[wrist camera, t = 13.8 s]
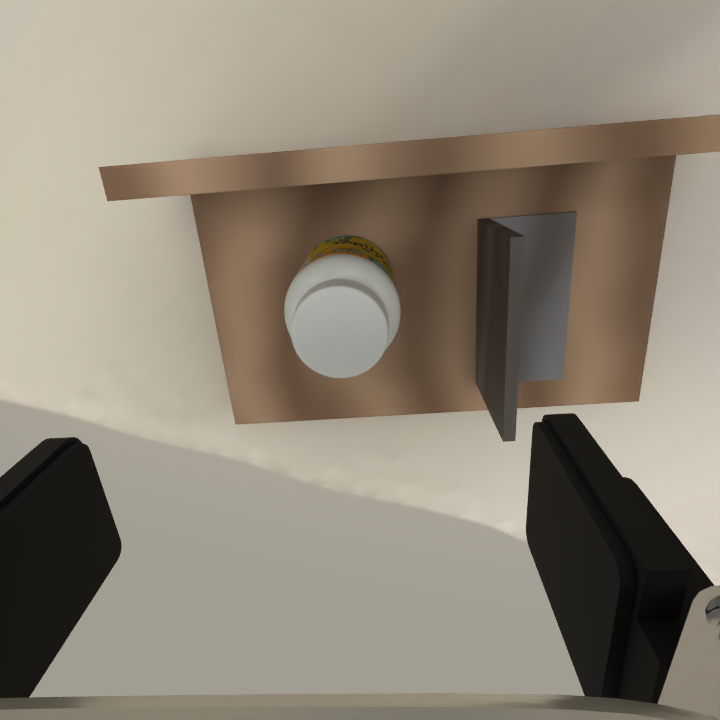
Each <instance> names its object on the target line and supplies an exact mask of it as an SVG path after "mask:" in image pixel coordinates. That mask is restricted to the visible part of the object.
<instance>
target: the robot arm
mask: <svg viewBox="0 0 720 720" xmlns="http://www.w3.org/2000/svg"><path fill="white" fill-rule="evenodd" d="M526 535H527V541H528V545H529V548H530V551H531V554H532V556H533V559H534V561H535V564H536V567H537V570H538V572H539V575H540V577H541V580H542V583H543V586H544V588H545V591H546V593H547V596H548V599H549V601H550V604H551V607H552V610H553V612H554V615H555V617H556V620H557V623H558V626H559V628H560V631H561V634H562V636H563V639H564V641H565V644H566V647H567V650H568V652H569V655H570V658H571V660H572V663H573V666H574V668H575V671H576V674H577V676H578V679H579V682H580V684H581V687H582V689H583V692H584V695H585V696H570V695H535V694H457V693H455V694H454V693H453V694H452V693H445V694H444V693H437V694H435V693H431V694H430V693H428V694H426V693H425V694H272V695H271V694H270V695H269V694H265V695H264V694H263V695H173V696H172V695H171V696H93V697H35V698H29V696H30V695H31V694H32V692H33V691H34V689H35V687H36V686H37V684H38V683H39V681H40V680H41V678H42V676H43V675H44V674H45V672H46V670H47V669H48V667H49V666H50V664H51V663H52V661H53V659H54V658H55V656H56V655H57V653H58V652H59V650H60V649H61V647H62V645H63V644H64V642H65V641H66V639H67V638H68V636H69V634H70V633H71V631H72V630H73V628H74V627H75V625H76V624H77V622H78V621H79V619H80V618H81V616H82V614H83V613H84V611H85V610H86V608H87V607H88V605H89V604H90V602H91V601H92V599H93V597H94V596H95V594H96V593H97V591H98V590H99V588H100V587H101V585H102V583H103V582H104V580H105V579H106V577H107V576H108V574H109V573H110V571H111V569H112V568H113V566H114V564H115V563H116V562H117V560H118V558H119V556H120V553H121V540H120V537H119V534H118V531H117V528H116V525H115V522H114V519H113V516H112V513H111V510H110V507H109V505H108V502H107V499H106V496H105V493H104V490H103V487H102V484H101V481H100V478H99V475H98V472H97V469H96V467H95V464H94V461H93V458H92V455H91V452H90V450H89V447H88V446H87V445H85V444H82V442H81V441H80V440H79V439H78V438H75V437H70V438H50V439H46V440H44V441H42V442H41V443H40V444H39V445H38V446H36V447H35V448H34V449H33V450H32V451H30V452H29V453H28V454H27V455H26V456H25V457H24V458H22V459H21V460H20V461H19V462H18V463H16V464H15V465H14V466H13V467H12V468H11V469H9V470H8V471H7V472H6V473H5V474H4V475H2V476H1V477H0V720H720V586H714V585H713V583H712V582H711V581H710V579H709V578H708V577H707V575H706V574H705V573H704V571H703V570H702V569H701V568H700V566H699V565H698V564H697V562H696V561H695V560H694V558H693V557H692V556H691V555H690V553H689V552H688V551H687V549H686V548H685V547H684V545H683V544H682V543H681V542H680V540H679V539H678V538H677V536H676V535H675V534H674V532H673V531H672V530H671V529H670V527H669V526H668V525H667V523H666V522H665V521H664V519H663V518H662V517H661V516H660V514H659V513H658V512H657V510H656V509H655V508H654V506H653V505H652V504H651V503H650V501H649V500H648V499H647V497H646V496H645V495H644V493H643V492H642V491H641V490H640V488H639V487H638V486H637V484H636V483H635V482H634V481H633V480H632V479H630V478H627V477H622V476H621V475H620V473H619V472H618V471H617V469H616V468H615V466H614V465H613V464H612V462H611V461H610V460H609V458H608V457H607V456H606V454H605V453H604V452H603V450H602V449H601V448H600V446H599V445H598V444H597V442H596V441H595V440H594V438H593V437H592V435H591V434H590V433H589V431H588V430H587V429H586V427H585V426H584V425H583V423H582V422H581V421H580V419H579V418H578V417H577V416H576V415H575V414H573V413H571V414H550V415H544V416H543V419H542V422H535V423H534V425H533V431H532V446H531V461H530V476H529V491H528V505H527V520H526Z"/></svg>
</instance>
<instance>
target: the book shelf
mask: <svg viewBox="0 0 720 720" xmlns="http://www.w3.org/2000/svg"><path fill="white" fill-rule="evenodd" d="M718 151H720V114H719V115H707V116H696V117H684V118H672V119H660V120H649V121H637V122H625V123H613V124H601V125H590V126H578V127H566V128H554V129H543V130H531V131H519V132H507V133H496V134H484V135H472V136H460V137H449V138H437V139H425V140H413V141H401V142H390V143H378V144H366V145H354V146H343V147H331V148H319V149H307V150H296V151H284V152H272V153H260V154H249V155H237V156H225V157H213V158H202V159H190V160H178V161H166V162H154V163H143V164H131V165H119V166H107V167H99V170H100V174H101V178H102V182H103V186H104V189H105V193H106V197H107V201H116V200H128V199H141V198H153V197H165V196H177V195H191V200H192V205H193V210H194V215H195V220H196V225H197V230H198V236H199V241H200V246H201V251H202V256H203V261H204V266H205V271H206V276H207V281H208V286H209V291H210V297H211V302H212V307H213V312H214V317H215V322H216V327H217V332H218V337H219V342H220V347H221V352H222V358H223V363H224V368H225V373H226V378H227V383H228V388H229V393H230V398H231V403H232V408H233V413H234V418H235V424H252V423H269V422H286V421H304V420H321V419H338V418H356V417H373V416H390V415H408V414H425V413H442V412H460V411H477V410H489V413H490V415H491V417H492V419H493V421H494V423H495V425H496V428H497V430H498V432H499V434H500V436H501V438H502V440H503V442H504V441H515V435H516V414H517V408H529V407H546V406H564V405H581V404H598V403H615V402H633V401H639V396H640V389H641V383H642V376H643V369H644V363H645V356H646V350H647V343H648V337H649V330H650V323H651V317H652V310H653V304H654V297H655V291H656V284H657V277H658V271H659V264H660V258H661V251H662V245H663V238H664V231H665V225H666V218H667V212H668V205H669V199H670V192H671V185H672V179H673V172H674V166H675V159H676V155H681V154H693V153H705V152H718ZM342 235H356V236H360V237H363V238H366V239H368V240H370V241H372V242H373V243H375V244H376V245H377V246H379V247H380V248H381V249H382V250H383V252H384V253H385V254H386V256H387V257H388V259H389V261H390V264H391V267H392V270H393V273H394V278H395V282H396V286H397V290H398V294H399V298H400V307H401V316H400V323H399V327H398V330H397V333H396V335H395V337H394V339H393V341H392V342H391V344H390V345H389V346H388V348H387V349H386V350H385V351H384V353H383V355H382V356H381V358H380V359H379V360H378V362H377V363H376V364H375V365H374V366H373V367H371V368H370V369H369V370H367V371H366V372H364V373H362V374H360V375H357V376H354V377H349V378H332V377H327V376H324V375H321V374H319V373H317V372H315V371H313V370H312V369H311V368H309V367H308V366H307V365H306V364H305V363H304V362H303V361H302V360H301V359H300V358H299V356H298V355H297V353H296V351H295V349H294V346H293V343H292V339H291V336H290V334H289V332H288V329H287V326H286V322H285V316H284V305H285V298H286V295H287V292H288V289H289V287H290V285H291V283H292V281H293V279H294V277H295V276H296V274H297V273H298V271H299V269H300V268H301V266H302V264H303V263H304V261H305V260H306V258H307V256H308V255H309V253H310V252H311V251H312V250H313V249H314V248H315V247H316V246H317V245H318V244H319V243H321V242H322V241H324V240H326V239H329V238H332V237H336V236H342Z"/></svg>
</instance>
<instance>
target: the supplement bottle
mask: <svg viewBox="0 0 720 720" xmlns="http://www.w3.org/2000/svg"><path fill="white" fill-rule="evenodd" d="M284 316H285V322H286V326H287V329H288V332H289V334H290V336H291V339H292V343H293V346H294V349H295V351H296V353H297V355H298V356H299V358H300V359H301V360H302V361H303V362H304V363H305V364H306V365H307V366H308V367H309V368H311V369H312V370H313V371H315V372H317V373H319V374H321V375H324V376H327V377H332V378H349V377H354V376H357V375H360V374H362V373H364V372H366V371H367V370H369V369H370V368H371V367H373V366H374V365H375V364H376V363H377V362H378V360H379V359H380V358H381V356H382V355H383V353H384V351H385V350H386V349H387V348H388V346H389V345H390V344H391V342H392V341H393V339H394V337H395V335H396V333H397V330H398V327H399V323H400V316H401V307H400V298H399V294H398V290H397V286H396V282H395V278H394V273H393V270H392V267H391V264H390V261H389V259H388V257H387V256H386V254H385V253H384V252H383V250H382V249H381V248H380V247H379V246H377V245H376V244H375V243H373V242H372V241H370V240H368V239H366V238H363V237H360V236H356V235H342V236H336V237H332V238H329V239H326V240H324V241H322V242H321V243H319V244H318V245H317V246H316V247H315V248H314V249H313V250H312V251H311V252H310V253H309V255H308V256H307V258H306V260H305V261H304V263H303V264H302V266H301V268H300V269H299V271H298V273H297V274H296V276H295V277H294V279H293V281H292V283H291V285H290V287H289V289H288V292H287V295H286V298H285V305H284Z"/></svg>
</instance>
